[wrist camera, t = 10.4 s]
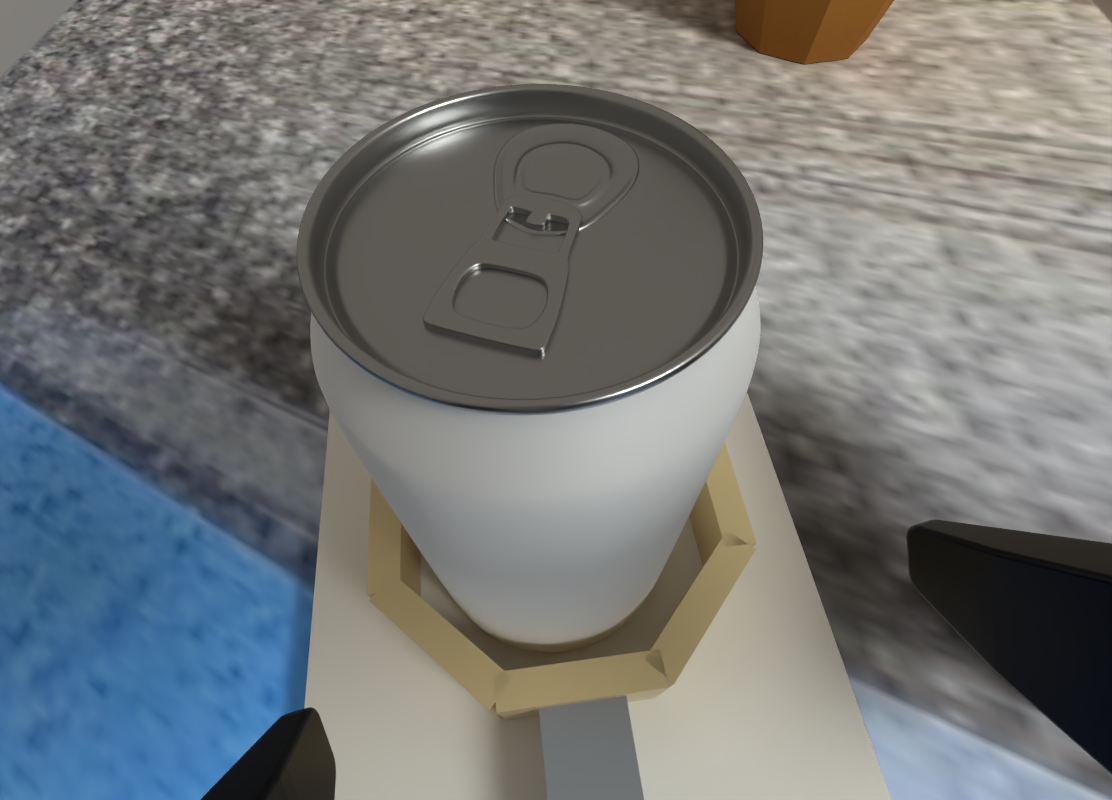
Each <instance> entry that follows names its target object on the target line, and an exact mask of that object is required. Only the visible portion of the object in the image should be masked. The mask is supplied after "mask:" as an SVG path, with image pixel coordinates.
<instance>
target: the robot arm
mask: <svg viewBox="0 0 1112 800" xmlns="http://www.w3.org/2000/svg"><path fill="white" fill-rule="evenodd" d="M906 539H907V553H908V567H909V576H910V579H911V581H912V583H913V585H914V587H915V588H916V590H917V591H918V592H919V593H920V594H921V595H922V596H923V597H924V598H925V600H926V601H927V602H928V603H929V604H930V605H931V606H932V607H933V608H934V609H935V610H936V611H937V612H938V613H939V614H940V615H941V616H942V617H943V618H944V619H945V620H946V621H947V622H948V623H949V624H950V626H951V627H952V628H953V629H954V630H955V631H956V632H957V633H958V634H959V635H960V636H961V637H962V638H963V639H964V640H965V641H966V642H967V643H968V644H969V645H970V646H971V647H972V648H973V649H974V650H975V652H976V653H977V654H978V655H979V656H980V657H981V658H982V659H983V660H984V661H985V662H986V663H987V664H988V665H989V666H990V667H991V668H992V669H993V670H994V671H995V672H997V673H998V674H999V675H1000V676H1001V677H1002V678H1003V679H1004V680H1005V681H1006V682H1007V683H1009V684H1010V685H1011V686H1012V687H1013V688H1014V689H1015V690H1016V691H1018V692H1019V693H1020V694H1021V695H1022V696H1023V697H1024V698H1026V699H1027V700H1028V701H1029V702H1030V703H1031V704H1032V705H1033V706H1035V707H1036V708H1037V709H1038V710H1039V711H1040V712H1041V713H1043V714H1044V715H1045V716H1046V717H1047V718H1048V719H1049V720H1050V721H1052V722H1053V723H1054V724H1055V725H1056V726H1057V727H1058V728H1060V729H1061V730H1062V731H1063V732H1064V733H1065V734H1066V735H1068V736H1069V737H1070V738H1071V739H1072V740H1073V741H1074V742H1075V743H1077V744H1078V745H1079V746H1080V747H1081V748H1082V749H1083V750H1085V751H1086V752H1087V753H1088V754H1089V755H1090V756H1091V757H1093V758H1094V759H1095V760H1096V761H1097V762H1098V763H1099V764H1100V765H1102V766H1103V767H1104V768H1105V769H1106V770H1107V771H1108V772H1110V773H1111V774H1112V544H1111V543H1104V542H1097V541H1090V540H1082V539H1075V538H1068V537H1060V536H1053V535H1046V534H1038V533H1031V532H1024V531H1016V530H1009V529H1002V528H994V527H987V526H980V525H973V524H965V523H958V522H951V521H943V520H930V521H926V522H923V523H920V524H916V525H913V526H911V527H910V528H909V529H908V531H907V534H906ZM335 784H336V764H335V758H334V754H333V751H332V749H331V746H330V743H329V740H328V737H327V735H326V732H325V729H324V726H323V723H322V721H321V718H320V715H319V713H318V712H317V710H316V709H314V708H312V707H308V708H305V709H301V710H298V711H295V712H291V713H288V714H285V715H283V716H281V717H280V718H279V719H278V720H277V721H276V722H275V723H274V724H273V725H272V726H271V727H270V728H269V729H268V730H267V731H266V732H265V734H264V735H263V736H262V737H261V738H260V739H259V740H258V741H257V742H256V743H255V744H254V745H253V746H252V747H251V748H250V749H249V750H248V751H247V752H246V753H245V754H244V755H243V756H242V757H241V758H240V759H239V760H238V761H237V762H236V763H235V764H234V766H233V767H232V768H231V769H230V770H229V771H228V772H227V773H226V774H225V775H224V776H223V777H222V778H221V779H220V780H219V781H218V782H217V783H216V784H215V785H214V786H213V787H212V788H211V789H210V790H209V791H208V792H207V793H206V794H205V795H204V796H203V798H202V799H201V800H334V799H335Z"/></svg>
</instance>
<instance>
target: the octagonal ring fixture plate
mask: <svg viewBox="0 0 1112 800" xmlns="http://www.w3.org/2000/svg"><path fill="white" fill-rule="evenodd" d="M308 707H312V708H314V709H316V710H317V712H318V713H319V715H320V718H321V721H322V723H323V726H324V729H325V732H326V735H327V737H328V740H329V743H330V746H331V749H332V751H333V754H334V758H335V764H336V784H335V799H334V800H892V799H891V796H890V794H889V791H888V788H887V785H886V782H885V779H884V777H883V774H882V771H881V768H880V765H879V762H878V760H877V757H876V754H875V751H874V748H873V746H872V743H871V740H870V737H869V734H868V731H867V729H866V726H865V723H864V720H863V717H862V715H861V712H860V709H859V706H858V703H857V700H856V698H855V695H854V692H853V689H852V686H851V684H850V681H849V678H848V675H847V672H846V669H845V667H844V664H843V661H842V658H841V655H840V653H839V650H838V647H837V644H836V641H835V638H834V636H833V633H832V630H831V627H830V624H829V622H828V619H827V616H826V613H825V610H824V607H823V605H822V602H821V599H820V596H819V593H818V591H817V588H816V585H815V582H814V579H813V576H812V574H811V571H810V568H809V565H808V562H807V560H806V557H805V554H804V551H803V548H802V545H801V543H800V540H799V537H798V534H797V531H796V529H795V526H794V523H793V520H792V517H791V514H790V512H789V509H788V506H787V503H786V500H785V498H784V495H783V492H782V489H781V486H780V483H779V481H778V478H777V475H776V472H775V469H774V467H773V464H772V461H771V458H770V455H769V452H768V450H767V447H766V444H765V441H764V438H763V436H762V433H761V430H760V427H759V424H758V421H757V419H756V416H755V413H754V410H753V407H752V405H751V402H750V399H749V396H748V393H747V392H746V394H745V397H744V399H743V402H742V404H741V406H740V409H739V411H738V414H737V416H736V418H735V421H734V423H733V425H732V427H731V429H730V431H729V433H728V436H727V438H726V440H725V442H724V444H723V446H722V448H721V451H720V453H719V455H718V457H717V459H716V461H715V463H714V465H713V467H712V469H711V471H710V473H709V476H708V478H707V480H706V482H705V484H704V486H703V488H702V490H701V492H700V494H699V496H698V498H697V500H696V502H695V505H694V507H693V509H692V511H691V513H690V515H689V517H688V519H687V521H686V523H685V525H684V527H683V529H682V531H681V533H680V535H679V537H678V539H677V541H676V543H675V545H674V547H673V549H672V552H671V554H670V556H669V558H668V560H667V562H666V564H665V566H664V568H663V570H662V572H661V574H660V576H659V577H658V579H657V581H656V583H655V585H654V587H653V589H652V591H651V592H650V594H649V596H648V597H647V599H646V600H645V602H644V603H643V605H642V606H641V607H640V609H639V610H638V611H637V612H636V613H635V614H634V615H633V617H632V618H631V619H630V620H629V621H627V622H626V623H625V624H624V625H623V626H622V627H621V628H619V629H618V630H617V631H615V632H614V633H612V634H611V635H609V636H607V637H606V638H604V639H602V640H600V641H598V642H595V643H593V644H591V645H588V646H585V647H581V648H578V649H574V650H568V651H561V652H539V651H531V650H526V649H522V648H518V647H515V646H512V645H509V644H506V643H504V642H502V641H500V640H498V639H496V638H494V637H492V636H491V635H489V634H488V633H486V632H485V631H483V630H482V629H481V628H479V627H478V626H477V625H476V624H474V623H473V622H472V621H471V620H470V619H469V618H468V617H467V616H466V615H465V614H464V612H463V611H462V610H461V609H460V608H459V606H458V605H457V604H456V602H455V601H454V600H453V598H452V597H451V595H450V594H449V593H448V591H447V590H446V588H445V587H444V585H443V584H442V583H441V581H440V580H439V578H438V577H437V575H436V574H435V572H434V571H433V569H432V568H431V566H430V565H429V564H428V562H427V561H426V559H425V558H424V556H423V555H422V553H421V552H420V550H419V549H418V547H417V546H416V544H415V543H414V541H413V540H412V538H411V537H410V535H409V534H408V532H407V531H406V529H405V528H404V526H403V525H402V523H401V522H400V520H399V519H398V517H397V516H396V514H395V513H394V511H393V510H392V508H391V507H390V505H389V504H388V502H387V501H386V499H385V498H384V496H383V495H382V493H381V492H380V490H379V489H378V487H377V486H376V484H375V483H374V481H373V479H372V478H371V476H370V475H369V473H368V472H367V470H366V469H365V467H364V466H363V464H362V462H361V461H360V459H359V458H358V456H357V455H356V453H355V452H354V450H353V448H352V447H351V445H350V444H349V442H348V441H347V439H346V437H345V436H344V434H343V432H342V430H341V429H340V427H339V425H338V424H337V422H336V420H335V418H334V417H333V415H332V413H331V411H330V412H329V424H328V436H327V448H326V459H325V471H324V483H323V494H322V506H321V518H320V530H319V541H318V553H317V565H316V576H315V588H314V600H313V611H312V623H311V635H310V647H309V658H308V670H307V682H306V693H305V705H304V709H305V708H308Z"/></svg>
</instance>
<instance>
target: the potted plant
mask: <svg viewBox="0 0 1112 800" xmlns="http://www.w3.org/2000/svg"><path fill="white" fill-rule="evenodd" d="M893 1H894V0H735V5H736V31H737V32H738V33H739V34H740V35H741V36H742V37H743V38H744V39H745V40H746V41H747V42H748V43H749V44H750V45H752V46H753V47H754V48H755V49H756V50H757V51H758V52H759V53H762V54H766V55H770V56H774V57H778V58H782V59H786V60H789V61H793V62H797V63H801V64H810V63H818V62H826V61H834V60H842V59H848V58H849V57H850V56H851V55H852V54H853V53H854V52H855V51H856V50H857V49H858V48H859V47H860V46H861V44H862V43H863V42H864V41H865V40H866V39H867V38H868V37H869V35H870V34H871V32H872V31H873V29H874V28H875V27H876V25H877V24H878V22H879V21H880V20H881V18H882V17H883V15H884V14H885V12H886V11H887V10H888V8H889V7H890V5H891V4H892V3H893Z"/></svg>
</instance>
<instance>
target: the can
mask: <svg viewBox="0 0 1112 800" xmlns="http://www.w3.org/2000/svg"><path fill="white" fill-rule="evenodd" d="M762 256H763V229H762V222H761V217H760V213H759V210H758V206H757V203H756V200H755V198H754V195H753V193H752V191H751V189H750V187H749V185H748V183H747V181H746V180H745V178H744V176H743V175H742V173H741V172H740V170H739V169H738V168H737V166H736V165H735V164H734V163H733V161H732V160H731V159H730V158H729V157H728V156H727V155H726V154H725V152H724V151H723V150H722V149H721V148H720V147H719V146H717V145H716V144H715V143H714V142H713V141H712V140H711V139H709V138H708V137H707V136H706V135H704V134H703V133H702V132H700V131H699V130H698V129H696V128H695V127H693V126H692V125H690V124H688V123H687V122H685V121H683V120H682V119H680V118H678V117H676V116H674V115H672V114H671V113H669V112H666V111H664V110H662V109H660V108H658V107H655V106H653V105H650V104H648V103H645V102H642V101H640V100H637V99H634V98H630V97H627V96H624V95H620V94H616V93H612V92H608V91H603V90H598V89H592V88H586V87H578V86H569V85H556V84H523V85H508V86H499V87H491V88H485V89H479V90H474V91H469V92H465V93H460V94H456V95H453V96H449V97H446V98H442V99H439V100H436V101H433V102H430V103H428V104H425V105H422V106H420V107H417V108H415V109H413V110H410V111H408V112H406V113H404V114H402V115H400V116H398V117H396V118H394V119H392V120H390V121H388V122H387V123H385V124H383V125H382V126H380V127H378V128H377V129H375V130H374V131H372V132H371V133H369V134H368V135H366V136H365V137H364V138H362V139H361V140H360V141H358V142H357V143H356V144H355V145H353V146H352V147H351V148H350V149H349V150H348V151H347V152H346V153H344V154H343V155H342V156H341V157H340V158H339V159H338V161H337V162H336V163H335V164H334V165H333V166H332V167H331V168H330V170H329V171H328V172H327V173H326V175H325V176H324V177H323V179H322V180H321V182H320V183H319V184H318V186H317V188H316V189H315V191H314V193H313V195H312V196H311V198H310V200H309V203H308V205H307V207H306V209H305V212H304V215H303V218H302V221H301V225H300V229H299V234H298V241H297V268H298V275H299V280H300V284H301V288H302V291H303V294H304V297H305V299H306V302H307V304H308V306H309V308H310V310H311V322H310V340H311V353H312V360H313V365H314V370H315V373H316V377H317V380H318V383H319V386H320V388H321V391H322V393H323V395H324V398H325V400H326V403H327V405H328V407H329V409H330V411H331V413H332V415H333V417H334V418H335V420H336V422H337V424H338V425H339V427H340V429H341V430H342V432H343V434H344V436H345V437H346V439H347V441H348V442H349V444H350V445H351V447H352V448H353V450H354V452H355V453H356V455H357V456H358V458H359V459H360V461H361V462H362V464H363V466H364V467H365V469H366V470H367V472H368V473H369V475H370V476H371V478H372V479H373V481H374V483H375V484H376V486H377V487H378V489H379V490H380V492H381V493H382V495H383V496H384V498H385V499H386V501H387V502H388V504H389V505H390V507H391V508H392V510H393V511H394V513H395V514H396V516H397V517H398V519H399V520H400V522H401V523H402V525H403V526H404V528H405V529H406V531H407V532H408V534H409V535H410V537H411V538H412V540H413V541H414V543H415V544H416V546H417V547H418V549H419V550H420V552H421V553H422V555H423V556H424V558H425V559H426V561H427V562H428V564H429V565H430V566H431V568H432V569H433V571H434V572H435V574H436V575H437V577H438V578H439V580H440V581H441V583H442V584H443V585H444V587H445V588H446V590H447V591H448V593H449V594H450V595H451V597H452V598H453V600H454V601H455V602H456V604H457V605H458V606H459V608H460V609H461V610H462V611H463V612H464V614H465V615H466V616H467V617H468V618H469V619H470V620H471V621H472V622H473V623H474V624H476V625H477V626H478V627H479V628H481V629H482V630H483V631H485V632H486V633H488V634H489V635H491V636H492V637H494V638H496V639H498V640H500V641H502V642H504V643H506V644H509V645H512V646H515V647H518V648H522V649H526V650H531V651H539V652H561V651H568V650H574V649H578V648H581V647H585V646H588V645H591V644H593V643H595V642H598V641H600V640H602V639H604V638H606V637H607V636H609V635H611V634H612V633H614V632H615V631H617V630H618V629H619V628H621V627H622V626H623V625H624V624H625V623H626V622H627V621H629V620H630V619H631V618H632V617H633V615H634V614H635V613H636V612H637V611H638V610H639V609H640V607H641V606H642V605H643V603H644V602H645V600H646V599H647V597H648V596H649V594H650V592H651V591H652V589H653V587H654V585H655V583H656V581H657V579H658V577H659V576H660V574H661V572H662V570H663V568H664V566H665V564H666V562H667V560H668V558H669V556H670V554H671V552H672V549H673V547H674V545H675V543H676V541H677V539H678V537H679V535H680V533H681V531H682V529H683V527H684V525H685V523H686V521H687V519H688V517H689V515H690V513H691V511H692V509H693V507H694V505H695V502H696V500H697V498H698V496H699V494H700V492H701V490H702V488H703V486H704V484H705V482H706V480H707V478H708V476H709V473H710V471H711V469H712V467H713V465H714V463H715V461H716V459H717V457H718V455H719V453H720V451H721V448H722V446H723V444H724V442H725V440H726V438H727V436H728V433H729V431H730V429H731V427H732V425H733V423H734V421H735V418H736V416H737V414H738V411H739V409H740V406H741V404H742V402H743V399H744V397H745V394H746V392H747V390H748V387H749V384H750V381H751V378H752V374H753V371H754V367H755V363H756V360H757V355H758V350H759V343H760V327H761V323H760V308H759V300H758V295H757V290H756V282H757V279H758V275H759V272H760V268H761V262H762Z"/></svg>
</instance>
